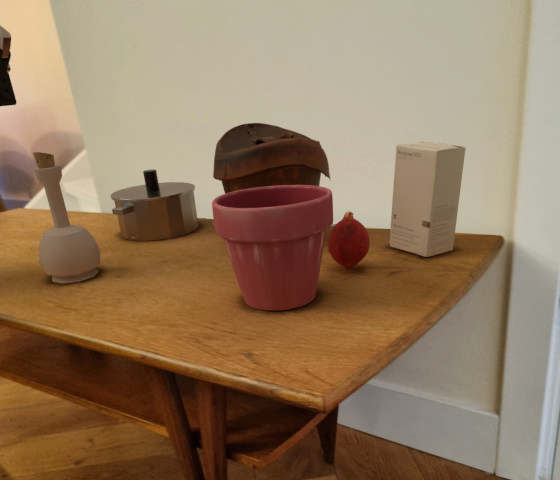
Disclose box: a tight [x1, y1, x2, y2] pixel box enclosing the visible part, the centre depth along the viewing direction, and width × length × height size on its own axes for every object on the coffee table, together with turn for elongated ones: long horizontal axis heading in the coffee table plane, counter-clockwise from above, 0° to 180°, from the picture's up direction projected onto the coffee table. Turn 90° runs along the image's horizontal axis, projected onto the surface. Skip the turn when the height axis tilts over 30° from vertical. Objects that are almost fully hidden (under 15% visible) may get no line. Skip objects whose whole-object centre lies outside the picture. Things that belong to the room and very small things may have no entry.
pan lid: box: [110, 169, 196, 202], centre depth 102 cm, size 16×16×5 cm
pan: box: [111, 190, 199, 242], centre depth 105 cm, size 15×20×7 cm
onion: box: [327, 210, 371, 270], centre depth 76 cm, size 6×6×8 cm
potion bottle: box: [32, 151, 101, 284], centre depth 80 cm, size 9×9×18 cm
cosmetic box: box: [389, 141, 466, 258], centre depth 80 cm, size 8×6×15 cm
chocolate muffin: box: [212, 122, 332, 194], centre depth 90 cm, size 18×20×18 cm
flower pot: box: [211, 185, 334, 311], centre depth 67 cm, size 14×14×13 cm
